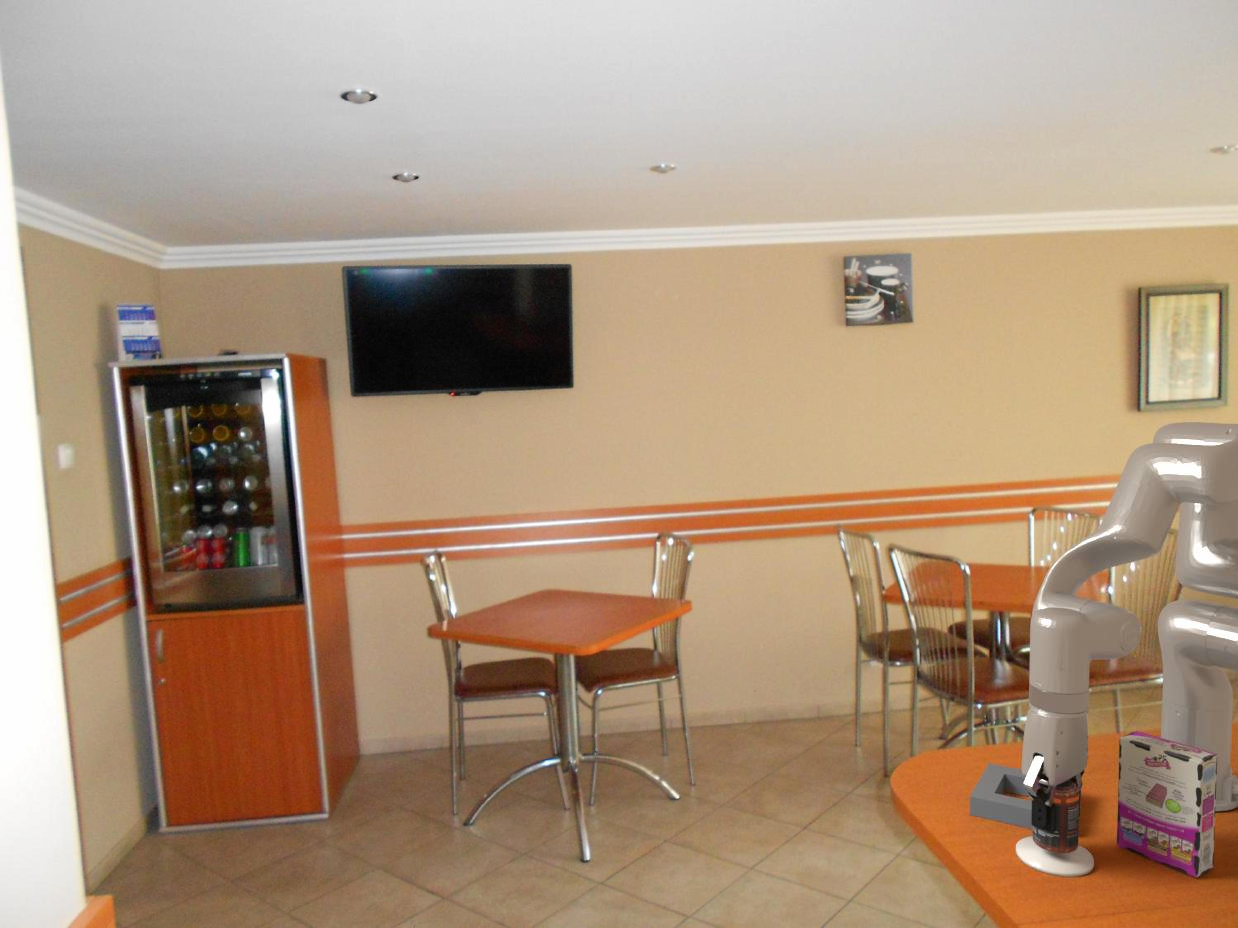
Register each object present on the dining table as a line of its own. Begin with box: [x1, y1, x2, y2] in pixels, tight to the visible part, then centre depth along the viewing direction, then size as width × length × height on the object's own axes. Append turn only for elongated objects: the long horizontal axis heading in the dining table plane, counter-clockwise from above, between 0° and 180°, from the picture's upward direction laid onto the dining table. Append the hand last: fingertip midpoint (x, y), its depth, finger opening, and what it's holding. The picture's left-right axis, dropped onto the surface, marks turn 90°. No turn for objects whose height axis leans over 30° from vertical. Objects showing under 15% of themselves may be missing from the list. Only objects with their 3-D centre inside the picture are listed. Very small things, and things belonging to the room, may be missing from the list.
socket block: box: [969, 763, 1082, 830], centre depth 145 cm, size 14×14×3 cm
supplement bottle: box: [1032, 775, 1080, 853], centre depth 130 cm, size 6×6×11 cm
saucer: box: [1015, 835, 1095, 878], centre depth 130 cm, size 10×10×1 cm
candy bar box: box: [1116, 730, 1217, 879], centre depth 129 cm, size 11×5×16 cm, turn 34°
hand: (1055, 820), depth 130 cm, fingers closed on supplement bottle, 6 cm apart
